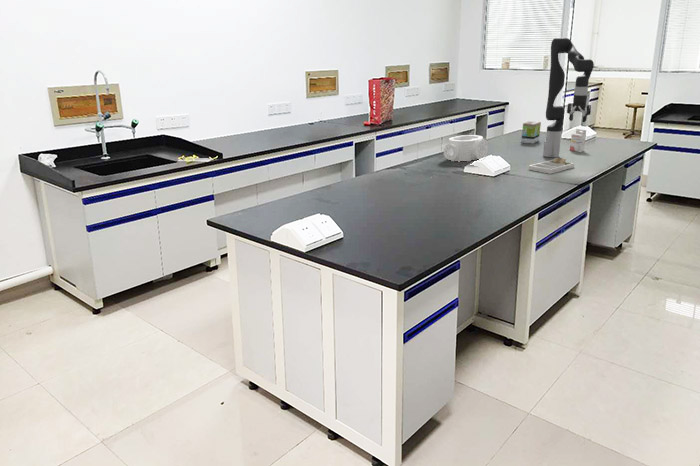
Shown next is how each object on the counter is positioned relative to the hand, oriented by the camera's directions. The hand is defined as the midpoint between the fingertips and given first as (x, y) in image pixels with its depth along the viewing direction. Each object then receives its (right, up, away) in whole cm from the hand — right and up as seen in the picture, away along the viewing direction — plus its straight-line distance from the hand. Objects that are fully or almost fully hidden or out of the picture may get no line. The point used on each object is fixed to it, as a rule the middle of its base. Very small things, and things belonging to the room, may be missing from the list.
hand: (577, 121), depth 332 cm
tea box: (0, +2, +88) cm, 88 cm away
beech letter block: (-9, -27, +5) cm, 29 cm away
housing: (-60, -18, +34) cm, 71 cm away
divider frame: (-16, -29, 0) cm, 33 cm away
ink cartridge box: (+21, -11, +50) cm, 55 cm away
